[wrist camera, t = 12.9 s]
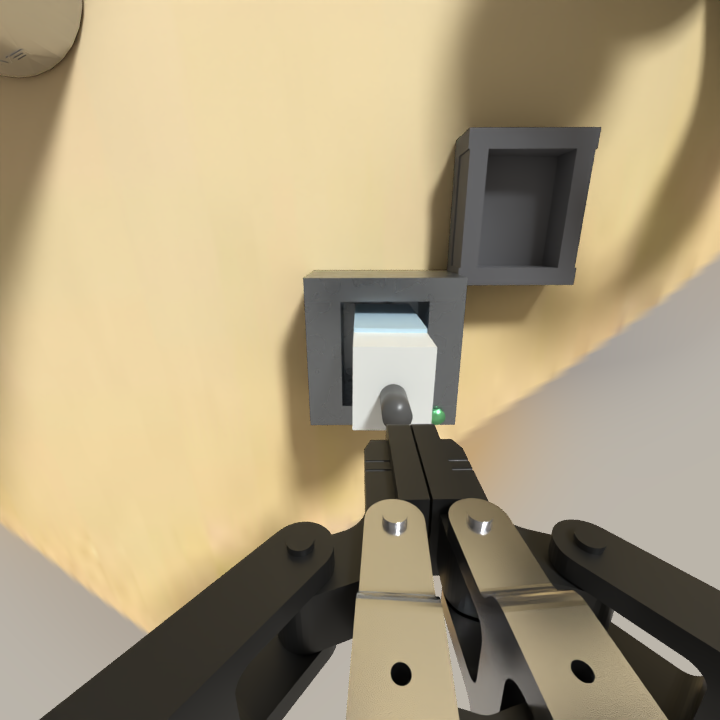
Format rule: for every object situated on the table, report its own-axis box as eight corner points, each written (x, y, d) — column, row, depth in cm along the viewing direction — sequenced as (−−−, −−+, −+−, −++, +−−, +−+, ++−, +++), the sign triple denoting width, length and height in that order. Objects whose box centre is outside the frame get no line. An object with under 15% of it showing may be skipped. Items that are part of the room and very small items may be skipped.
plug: (355, 303, 25) (351, 356, 14) (409, 304, 25) (448, 357, 14) (354, 373, 26) (351, 471, 15) (405, 374, 26) (438, 471, 15)
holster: (456, 140, 22) (470, 126, 20) (570, 140, 23) (601, 126, 20) (446, 280, 25) (457, 285, 22) (549, 280, 25) (573, 285, 22)
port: (313, 270, 25) (302, 278, 20) (446, 269, 25) (469, 278, 20) (318, 392, 28) (310, 427, 23) (438, 392, 28) (456, 426, 23)
